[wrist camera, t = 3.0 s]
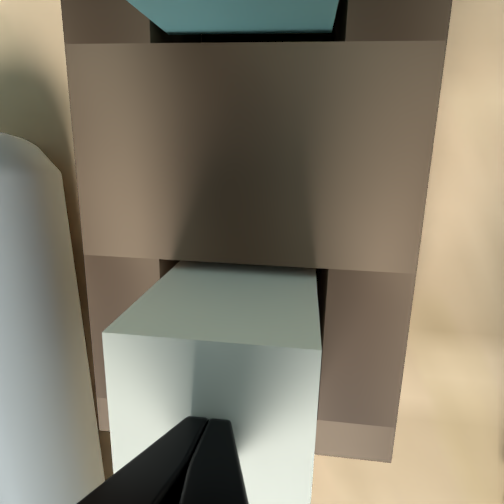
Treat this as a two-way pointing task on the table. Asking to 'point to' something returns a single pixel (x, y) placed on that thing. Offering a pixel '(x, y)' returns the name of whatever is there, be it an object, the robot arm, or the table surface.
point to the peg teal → (239, 16)
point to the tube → (41, 340)
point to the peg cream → (223, 368)
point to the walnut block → (265, 178)
